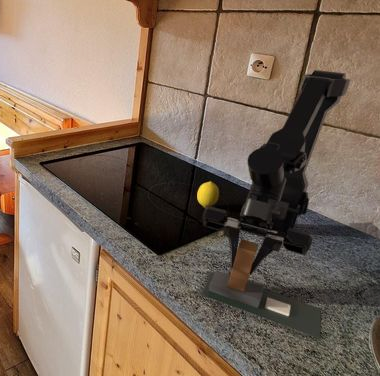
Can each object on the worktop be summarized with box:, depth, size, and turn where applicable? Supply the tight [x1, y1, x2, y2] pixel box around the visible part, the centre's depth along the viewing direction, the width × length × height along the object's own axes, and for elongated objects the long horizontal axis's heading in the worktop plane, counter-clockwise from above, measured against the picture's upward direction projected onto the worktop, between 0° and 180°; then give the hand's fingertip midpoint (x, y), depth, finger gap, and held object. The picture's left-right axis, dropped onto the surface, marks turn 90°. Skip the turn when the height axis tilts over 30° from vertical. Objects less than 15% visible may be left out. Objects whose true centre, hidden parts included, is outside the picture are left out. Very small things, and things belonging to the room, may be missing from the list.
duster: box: [209, 238, 265, 308], centre depth 78 cm, size 9×5×11 cm, turn 57°
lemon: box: [196, 181, 220, 209], centre depth 113 cm, size 6×6×8 cm
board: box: [200, 271, 322, 339], centre depth 78 cm, size 20×9×1 cm, turn 57°
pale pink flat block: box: [265, 297, 291, 316], centre depth 76 cm, size 4×3×1 cm
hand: (241, 270), depth 76 cm, fingers closed on duster, 3 cm apart
